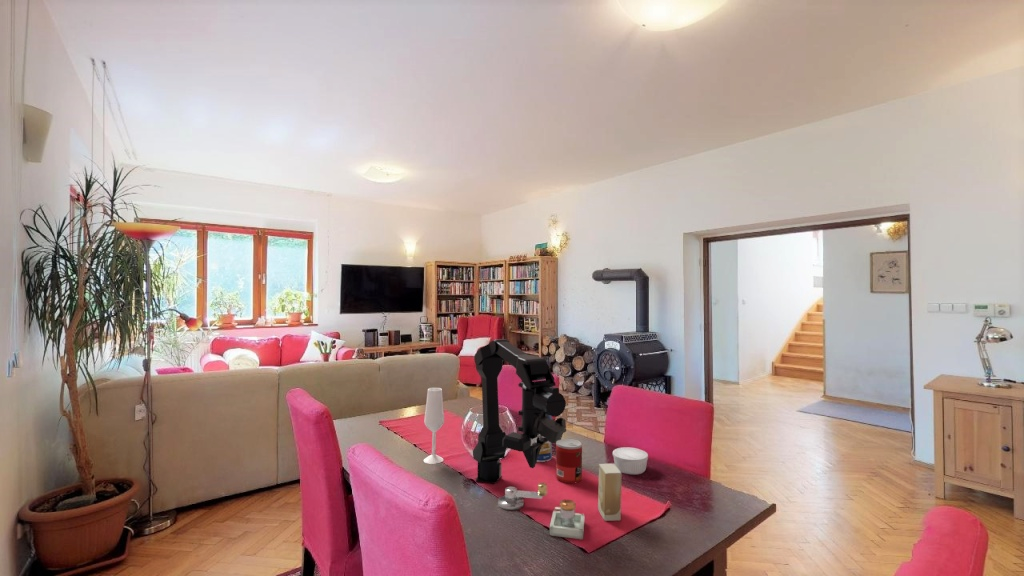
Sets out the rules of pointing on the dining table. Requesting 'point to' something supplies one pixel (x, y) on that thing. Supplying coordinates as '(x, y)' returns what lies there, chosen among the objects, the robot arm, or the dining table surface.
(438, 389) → the champagne flute
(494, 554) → the dining table surface
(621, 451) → the ramekin
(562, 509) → the glass jar
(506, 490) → the crank
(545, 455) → the beverage bottle
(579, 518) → the tray
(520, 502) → the crank base
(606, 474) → the skincare box
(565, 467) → the canned food
